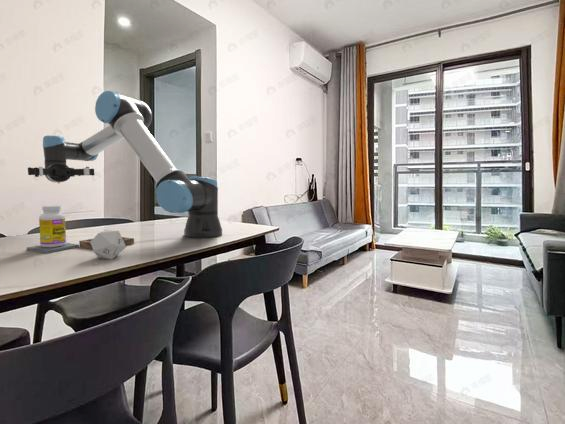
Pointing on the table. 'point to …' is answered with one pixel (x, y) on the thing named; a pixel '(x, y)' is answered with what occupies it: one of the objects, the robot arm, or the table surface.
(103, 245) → the die
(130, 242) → the walnut frame
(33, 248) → the slate coaster
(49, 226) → the supplement bottle
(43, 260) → the table surface
